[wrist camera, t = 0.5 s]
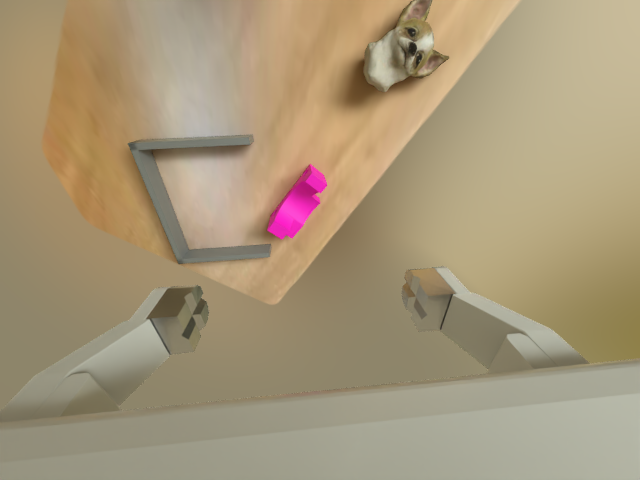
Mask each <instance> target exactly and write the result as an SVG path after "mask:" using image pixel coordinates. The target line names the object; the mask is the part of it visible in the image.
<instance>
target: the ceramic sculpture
mask: <svg viewBox="0 0 640 480" xmlns="http://www.w3.org/2000/svg"><path fill="white" fill-rule="evenodd" d="M431 3H432V0H413V1H411V2H410V3H409V5H408V6H407V7H406V8H404V9H403V11H402V13H401V15H400V17H399V20H398V23H397V26H396V28H395V29H393V30H391V31H389V32H388V33H387V34H386V35H385V36H384V37H383V38H382V39H381V40H379V41H377V42H373V43H369V44H368V46H367V48H366V50H365V65H364V69H363V72H364V75H365V77H366V81H367V82H368V83H369V84H371V85H374V87H375V88H376V89H377V90H378V91H382V92H386V91H387V90H388V89H389V87H390V86H392V85H393V84H394V83H397V82H399V81H403V80H404V79H406V78H407V77H409V76H413V77H415V78H423V77H425V76H428V75H430V74H431V73H432V72H433V71H435V70H436V69H437V68H438V67H439V66H440V65H441V64H442V63H444V62H445V61H446V60H448V59H449V56H444V55H442V54H440V53H439V52H437V51H435V50H433V47H434V36H433V32H432V29H431V27H430V25H429V24H428V23H427V22H425V20H426V18H427V16H428V13H429V9H430V6H431Z"/></svg>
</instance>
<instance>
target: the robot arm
mask: <svg viewBox="0 0 640 480" xmlns="http://www.w3.org/2000/svg"><path fill="white" fill-rule="evenodd" d="M404 278H405V280H406V284H405V285H403V287H402V299H403V303H404V305H405V307H406V309H407V310H408V311H410V312H411V313H412V316H411V319H412V321H413V322H414V324H415V326H416V328H417V330H418V332H425V331H440V332H442V333H443V334H444V335H445V336H447V337H448V338H449V339H450V340H452V341H453V342H454V343H456V344H457V345H458V346H459V347H461V348H462V349H463V350H464V351H466V352H467V353H468V354H469V355H471V356H472V357H473V358H475V359H476V360H477V361H478V362H480V363H481V364H482V365H483V366H485V367H486V368H487V369H488V371H487V373H486V374H480V375H470V376H460V377H450V378H441V379H430V380H422V381H411V382H401V383H391V384H381V385H371V386H361V387H351V388H341V389H333V390H322V391H312V392H302V393H291V394H282V395H271V396H261V397H251V398H241V399H232V400H221V401H211V402H201V403H191V404H181V405H171V406H162V407H151V408H142V409H131V410H122V409H121V408H120V407H119V406H120V405H121V404H122V403H123V402H124V401H125V400H126V399H127V398H128V397H129V396H130V395H131V394H132V393H133V392H134V391H135V390H136V389H137V388H138V387H139V386H140V385H141V384H142V383H143V382H144V381H145V380H146V379H147V378H148V377H149V376H150V375H151V374H152V373H153V372H154V371H155V370H156V369H157V368H158V367H159V366H160V365H161V364H162V363H163V362H164V361H165V360H166V359H167V358H168V357H169V356H170V355H171V354H180V353H188V352H194V351H195V349H196V347H197V344H198V342H199V340H200V337H201V335H200V332H199V331H200V330H201V329H202V328H203V327H205V325H206V323H207V320H208V314H209V311H208V305H207V302H206V301H205V300H203V299H202V298H201V297H202V294H203V292H202V289H201V287H200V286H198V285H194V286H176V287H175V286H174V287H159V288H156V289H154V290H153V291H152V292H151V294H150V295H149V296H148V297H147V299H146V300H145V301H144V302H143V304H142V305H141V306H140V307H139V309H138V310H137V311H136V313H135V314H134V315H133V316H132V318H131V319H130V320H129V321H124V322H122V323H121V324H119V325H117V326H116V327H114V328H112V329H111V330H109V331H107V332H106V333H104V334H103V335H101V336H99V337H98V338H96V339H94V340H93V341H91V342H89V343H88V344H86V345H85V346H83V347H81V348H80V349H78V350H76V351H75V352H73V353H71V354H70V355H68V356H67V357H65V358H63V359H62V360H60V361H58V362H57V363H55V364H53V365H52V366H50V367H49V368H47V369H45V370H44V371H42V372H40V373H39V374H37V375H36V376H34V377H33V378H32V379H31V380H30V381H29V382H28V383H27V384H26V385H25V386H24V387H23V388H22V389H21V391H19V392H18V393H17V394H16V396H15V397H14V398H13V399H12V400H11V401H10V402H9V403H8V404H7V405H6V406H5V407H4V408H3V409H2V410H1V411H0V480H640V359H630V360H620V361H611V362H600V363H591V364H590V363H589V362H588V361H587V360H586V359H585V358H583V357H582V356H581V355H580V354H579V353H578V352H577V351H576V350H574V349H573V348H572V347H571V346H570V345H569V344H568V343H566V342H565V341H564V340H563V339H562V338H561V337H560V336H559V335H557V334H556V333H555V332H554V331H553V330H552V329H550V328H548V327H546V326H543V325H541V324H539V323H537V322H535V321H533V320H531V319H529V318H526V317H524V316H522V315H520V314H518V313H516V312H514V311H512V310H510V309H508V308H505V307H503V306H501V305H499V304H497V303H495V302H493V301H491V300H488V299H486V298H484V297H482V296H480V295H478V294H475V293H470V292H469V291H468V290H467V289H466V288H465V287H464V285H463V284H462V283H461V282H460V281H459V280H458V279H457V278H456V277H455V276H454V275H453V274H452V272H451V271H450V270H449V269H448V268H447V267H444V266H441V267H432V268H423V269H410V270H407V271H406V272H405V277H404Z"/></svg>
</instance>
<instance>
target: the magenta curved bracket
mask: <svg viewBox="0 0 640 480" xmlns="http://www.w3.org/2000/svg"><path fill="white" fill-rule="evenodd" d="M326 186H327V183H326V180H325V177H324V175H323V174H322V173H321V172H319V171H318V170H317V169H316V168H314V167H313V166H312V165H311V164H310V165H309V166H308V168H307V169H306V170H305V172H304V173H303V174H302V176H301V177H300V178H299V179H298V181H297V182H296V183H295V185H294V186H293V187H292V189H291V190H290V191H289V192H288V194H287V195H286V196H285V198H284V199H283V200H282V202H281V203H280V204H279V205H278V207H277V208H276V209H275V211H274V212H273V213H272V215H271V217H270V221H269V225H268V229H267V230H268V231H269V232H271V233H272V234H274V235H276V236H277V237H279V238H280V239H283V238H284V237H285V236H286V235H287V236H289V237H290V238H293V237H294V236H295V235H296V233H297V232H298V231H299V230H300V229H301V228H302V226H303V225H304V223H305V221H306V219H307V218H308V216H309V215H310V214H311V212H312V211H313V210H314V209H315V208H316V207H317V206H318V205H319V204H320V199H319V197H317V196H316V195H315V193H318V192H320V193H321V192H322V191H323V190H324V189H325V188H326Z"/></svg>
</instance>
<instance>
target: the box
mask: <svg viewBox="0 0 640 480" xmlns="http://www.w3.org/2000/svg"><path fill="white" fill-rule="evenodd" d="M252 142H254V140H253V135H236V136H215V137H193V138H172V139H151V140H139V141H134V142H130V143H128V145H129V147H130V150H131V152H132V155H133V157H134V159H135V162H136V164H137V166H138V169H139V171H140V173H141V176H142V178H143V181H144V183H145V185H146V188H147V190H148V192H149V195H150V197H151V200H152V202H153V204H154V207H155V209H156V211H157V214H158V216H159V218H160V221H161V223H162V226H163V228H164V230H165V233H166V235H167V237H168V240H169V242H170V244H171V247H172V249H173V252H174V254H175V256H176V259H177V261H178V263H179V264H182V263H196V262H210V261H223V260H237V259H251V258H264V257H270V253H271V244H265V245H251V246H236V247H222V248H208V249H194V250H189V248H188V246H187V243H186V240H185V238H184V235H183V233H182V230H181V227H180V225H179V222H178V219H177V217H176V214H175V211H174V209H173V206H172V204H171V201H170V198H169V196H168V193H167V190H166V188H165V185H164V183H163V180H162V177H161V175H160V172H159V169H158V167H157V164H156V162H155V159H154V156H153V154H152V151H151V149H168V148H188V147H209V146H229V145H250V144H251V143H252Z"/></svg>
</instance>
